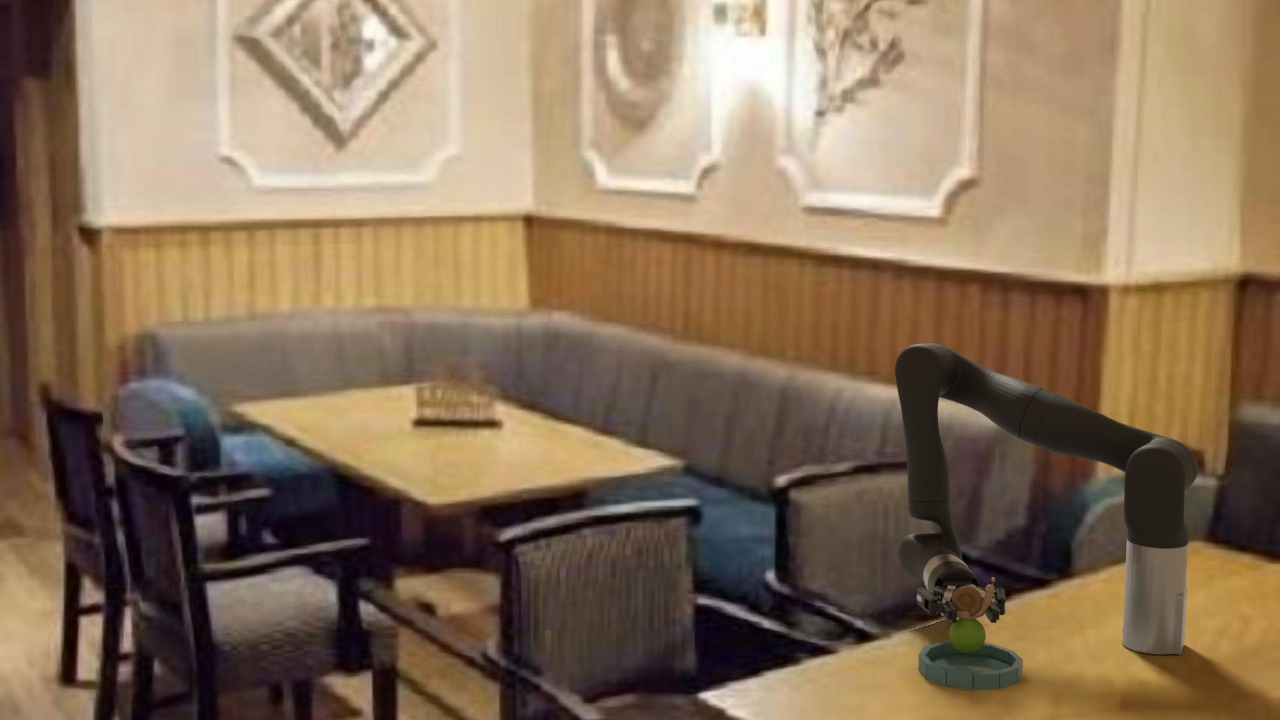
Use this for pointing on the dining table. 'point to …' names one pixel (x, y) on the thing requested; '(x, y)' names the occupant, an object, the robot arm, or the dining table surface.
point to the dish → (971, 666)
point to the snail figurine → (970, 618)
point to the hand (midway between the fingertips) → (974, 616)
